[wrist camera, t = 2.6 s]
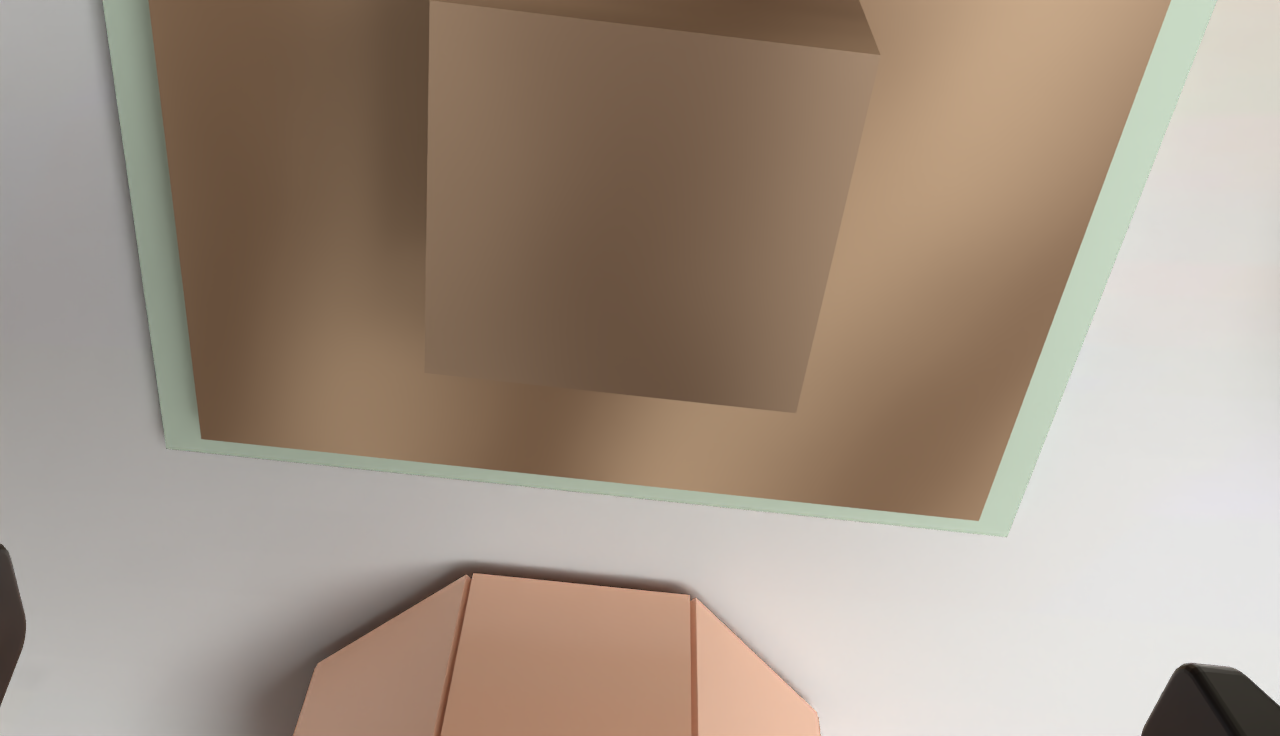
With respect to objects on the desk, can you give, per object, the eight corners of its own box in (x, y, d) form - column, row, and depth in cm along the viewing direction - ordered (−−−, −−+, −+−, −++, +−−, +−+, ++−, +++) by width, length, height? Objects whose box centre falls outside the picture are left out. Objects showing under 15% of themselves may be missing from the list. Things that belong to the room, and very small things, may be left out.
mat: (175, 432, 23) (166, 448, 22) (25, -669, 14) (5, -676, 13) (1001, 519, 23) (1007, 537, 23) (1381, -475, 14) (1403, -475, 14)
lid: (215, 411, 22) (126, 580, 18) (109, -550, 14) (-86, -581, 10) (970, 491, 22) (1024, 670, 19) (1283, -385, 14) (1479, -362, 11)
